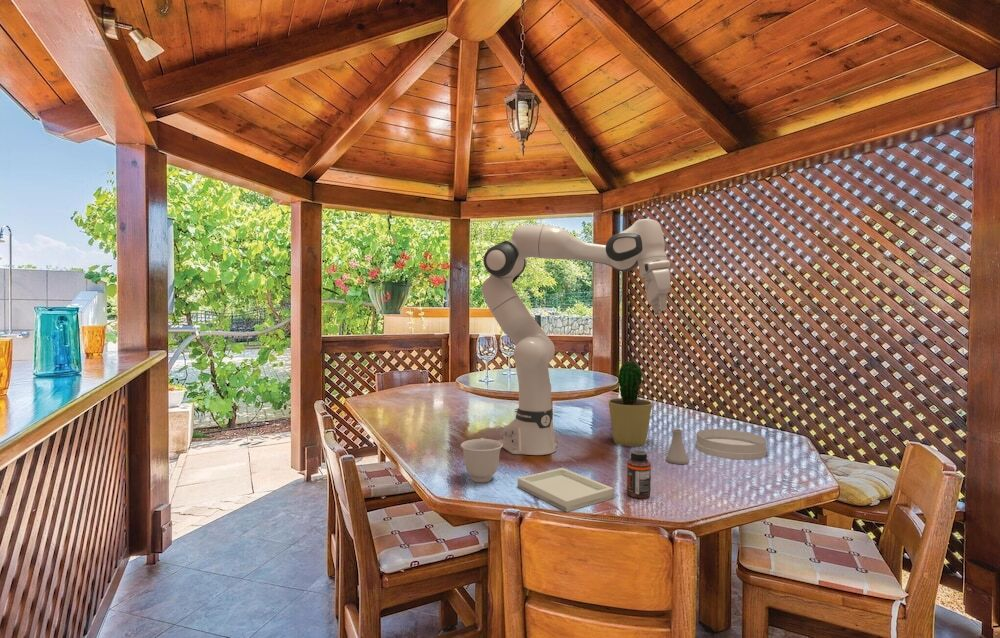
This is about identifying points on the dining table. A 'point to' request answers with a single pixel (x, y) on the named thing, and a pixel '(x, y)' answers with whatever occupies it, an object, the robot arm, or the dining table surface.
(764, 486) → the dining table surface
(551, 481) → the tray
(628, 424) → the potted cactus
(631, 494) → the supplement bottle
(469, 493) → the dining table surface
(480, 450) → the teacup
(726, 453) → the dish
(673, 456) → the flask
